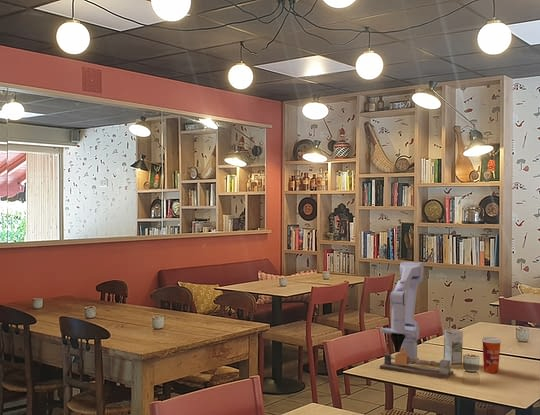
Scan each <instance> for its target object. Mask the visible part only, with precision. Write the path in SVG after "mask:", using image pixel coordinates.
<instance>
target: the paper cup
mask: <svg viewBox="0 0 540 415" xmlns="http://www.w3.org/2000/svg"><path fill="white" fill-rule="evenodd" d="M481 342H482V358H483V360H482V361H483V372H484V373H487V374H498V373H499V367H500V366H499V364H500V354H501V343H502V341H501V339H500V337H495V336H483V338H482V339H481Z"/></svg>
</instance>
